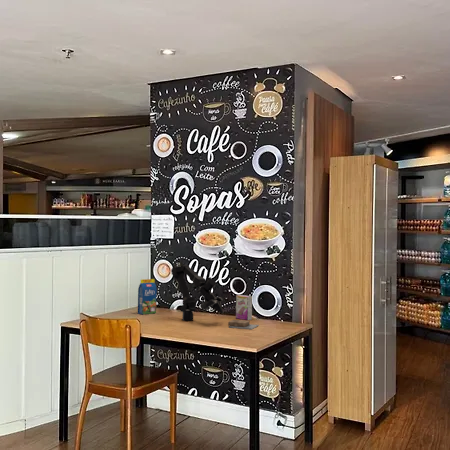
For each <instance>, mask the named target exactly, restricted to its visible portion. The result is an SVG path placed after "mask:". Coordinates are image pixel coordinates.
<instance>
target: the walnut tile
mask: <svg viewBox="0 0 450 450" xmlns="http://www.w3.org/2000/svg"><path fill="white" fill-rule="evenodd" d="M250 321H251V320H242V319H232V320H229V321H228V322H227V325H228V327H229V326H238V327H246V326H248V325H250V324H251V323H250Z"/></svg>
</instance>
